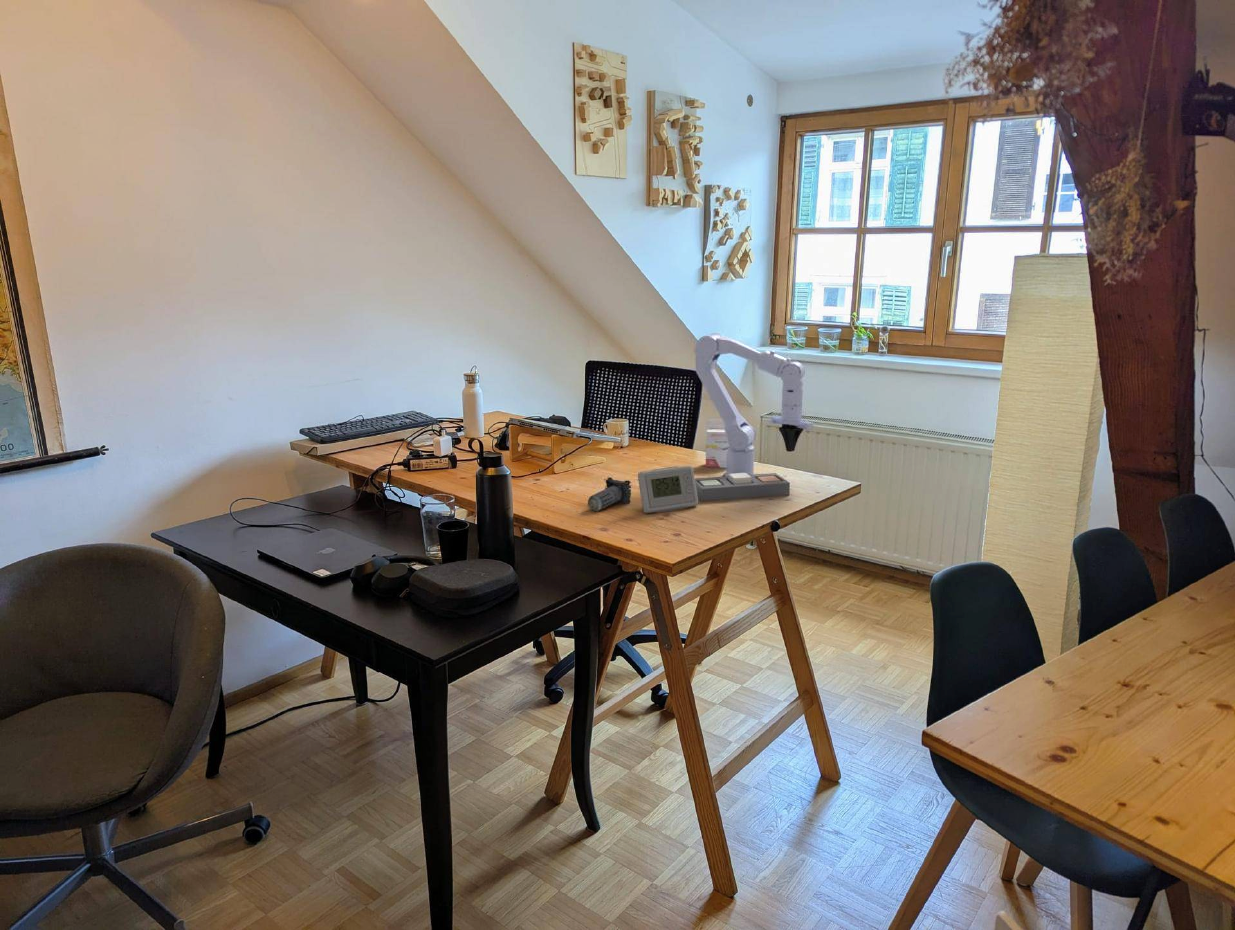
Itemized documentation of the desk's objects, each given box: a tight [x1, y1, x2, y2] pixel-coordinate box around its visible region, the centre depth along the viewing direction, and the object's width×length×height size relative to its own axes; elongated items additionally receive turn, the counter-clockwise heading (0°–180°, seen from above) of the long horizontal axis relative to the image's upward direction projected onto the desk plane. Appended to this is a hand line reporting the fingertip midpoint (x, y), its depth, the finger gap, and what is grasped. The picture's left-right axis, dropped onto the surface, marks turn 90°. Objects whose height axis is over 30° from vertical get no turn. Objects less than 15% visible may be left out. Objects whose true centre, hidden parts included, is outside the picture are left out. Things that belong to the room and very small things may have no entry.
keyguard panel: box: [694, 472, 791, 502], centre depth 221 cm, size 11×25×4 cm, turn 100°
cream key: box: [728, 473, 751, 484], centre depth 221 cm, size 5×5×2 cm
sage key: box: [699, 480, 722, 486], centre depth 220 cm, size 5×5×2 cm
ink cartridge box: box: [705, 418, 730, 468], centre depth 250 cm, size 9×5×15 cm, turn 84°
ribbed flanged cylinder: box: [587, 477, 632, 512], centre depth 211 cm, size 9×8×12 cm
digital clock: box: [637, 465, 699, 514], centre depth 208 cm, size 16×9×11 cm, turn 101°
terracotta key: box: [757, 476, 781, 482], centre depth 223 cm, size 5×5×2 cm
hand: (790, 450), depth 229 cm, fingers closed
